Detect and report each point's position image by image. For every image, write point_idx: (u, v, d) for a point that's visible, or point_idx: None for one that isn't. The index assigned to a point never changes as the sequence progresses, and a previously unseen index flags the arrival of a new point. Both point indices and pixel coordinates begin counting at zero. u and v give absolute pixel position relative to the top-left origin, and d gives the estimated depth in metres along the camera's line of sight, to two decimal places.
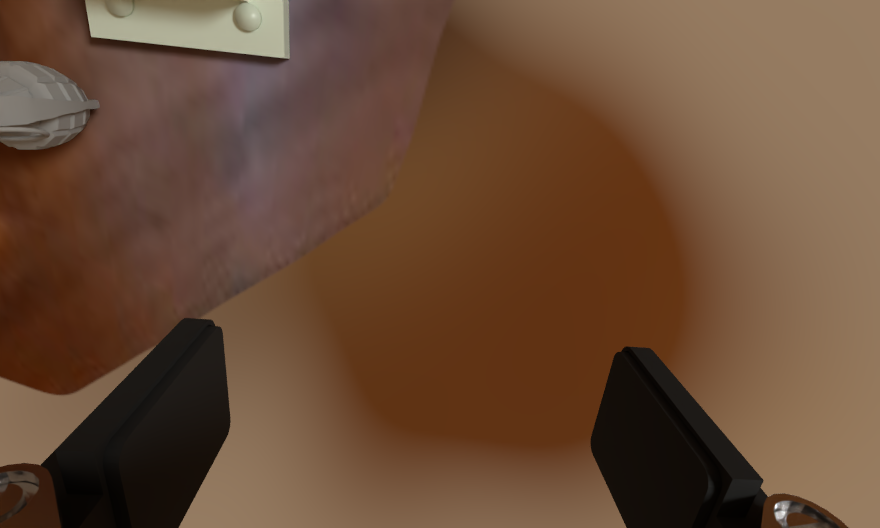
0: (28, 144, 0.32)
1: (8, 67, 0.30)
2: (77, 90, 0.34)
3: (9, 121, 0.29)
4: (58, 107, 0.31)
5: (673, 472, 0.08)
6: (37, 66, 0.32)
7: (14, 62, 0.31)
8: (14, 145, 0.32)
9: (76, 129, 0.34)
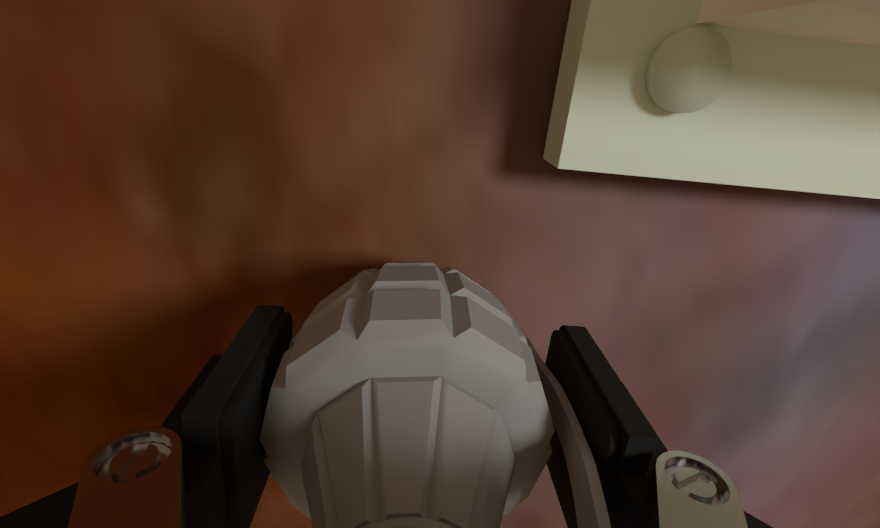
0: None
1: (445, 343, 0.08)
2: None
3: None
4: None
5: (588, 436, 0.09)
6: (468, 293, 0.10)
7: (442, 309, 0.08)
8: None
9: None
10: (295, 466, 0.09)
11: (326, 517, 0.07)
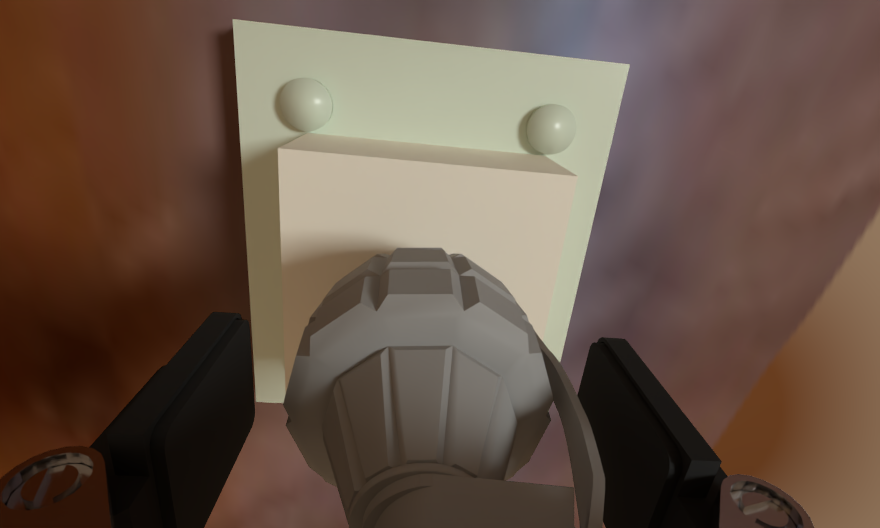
0: None
1: (456, 315, 0.09)
2: None
3: None
4: None
5: (640, 457, 0.08)
6: (476, 274, 0.10)
7: (453, 286, 0.09)
8: None
9: None
10: (315, 429, 0.10)
11: (351, 466, 0.08)
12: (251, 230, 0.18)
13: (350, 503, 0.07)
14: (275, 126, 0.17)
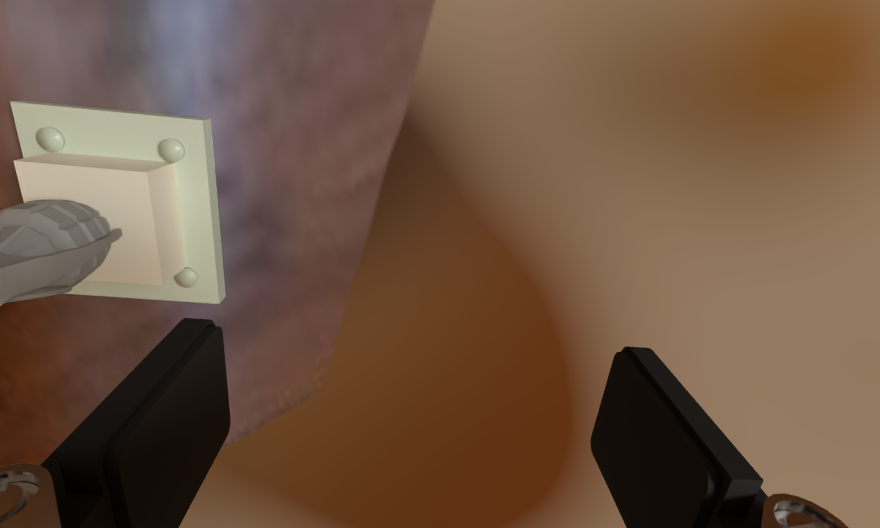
0: None
1: (27, 215, 0.28)
2: (99, 223, 0.31)
3: (29, 285, 0.26)
4: (81, 255, 0.29)
5: (673, 472, 0.08)
6: (58, 206, 0.29)
7: (33, 207, 0.28)
8: None
9: (98, 264, 0.32)
10: None
11: None
12: None
13: None
14: (38, 149, 0.36)
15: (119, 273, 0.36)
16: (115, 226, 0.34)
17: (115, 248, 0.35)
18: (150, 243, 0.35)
